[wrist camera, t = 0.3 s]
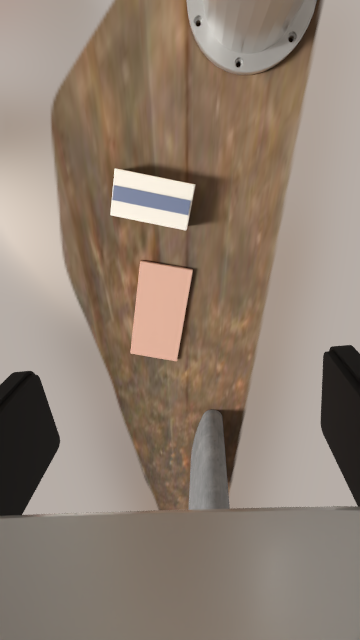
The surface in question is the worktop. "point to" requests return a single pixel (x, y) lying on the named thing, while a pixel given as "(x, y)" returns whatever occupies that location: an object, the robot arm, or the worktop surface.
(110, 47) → the worktop surface
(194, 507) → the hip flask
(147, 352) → the mat
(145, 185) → the card box
